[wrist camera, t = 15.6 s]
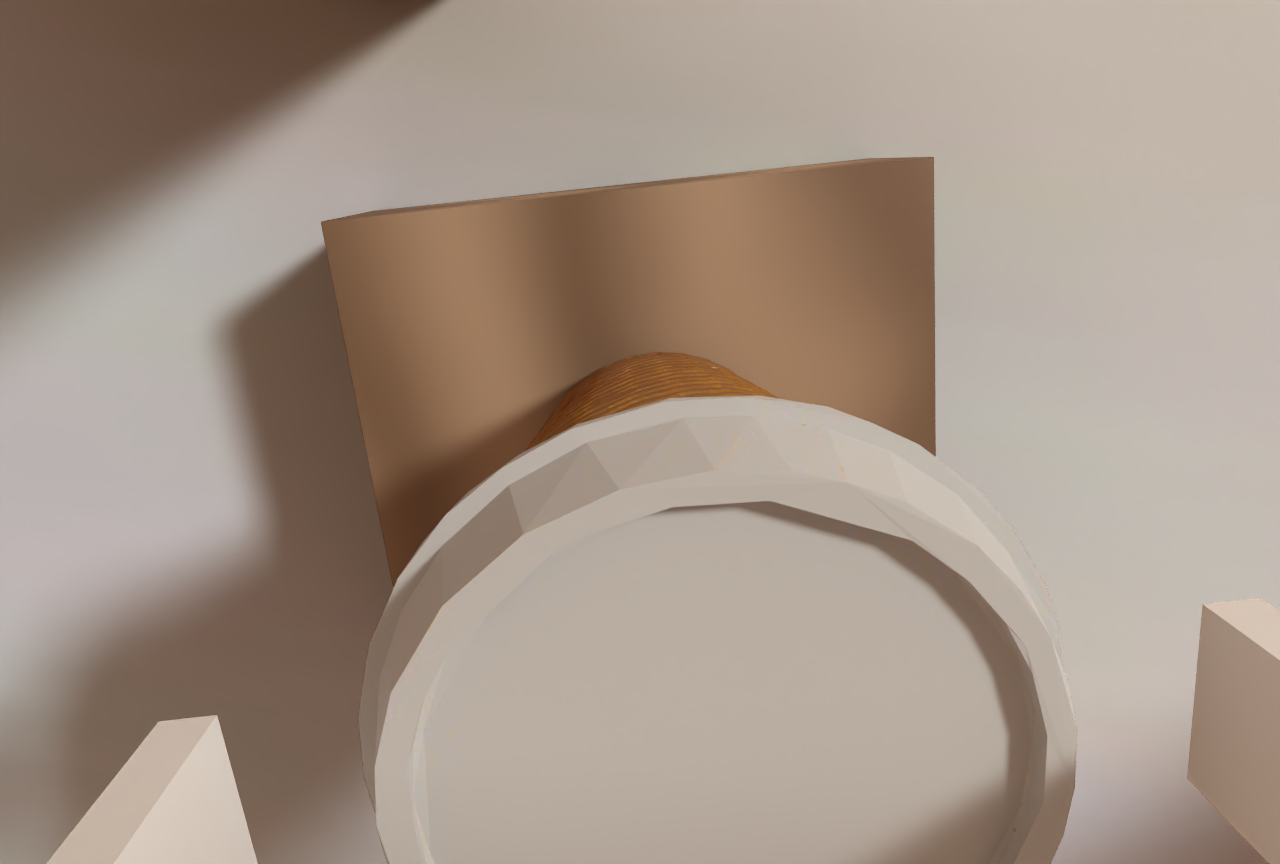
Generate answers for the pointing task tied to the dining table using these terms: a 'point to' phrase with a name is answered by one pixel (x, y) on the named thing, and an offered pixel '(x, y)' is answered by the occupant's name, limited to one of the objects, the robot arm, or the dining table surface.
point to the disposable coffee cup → (717, 648)
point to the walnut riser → (627, 310)
